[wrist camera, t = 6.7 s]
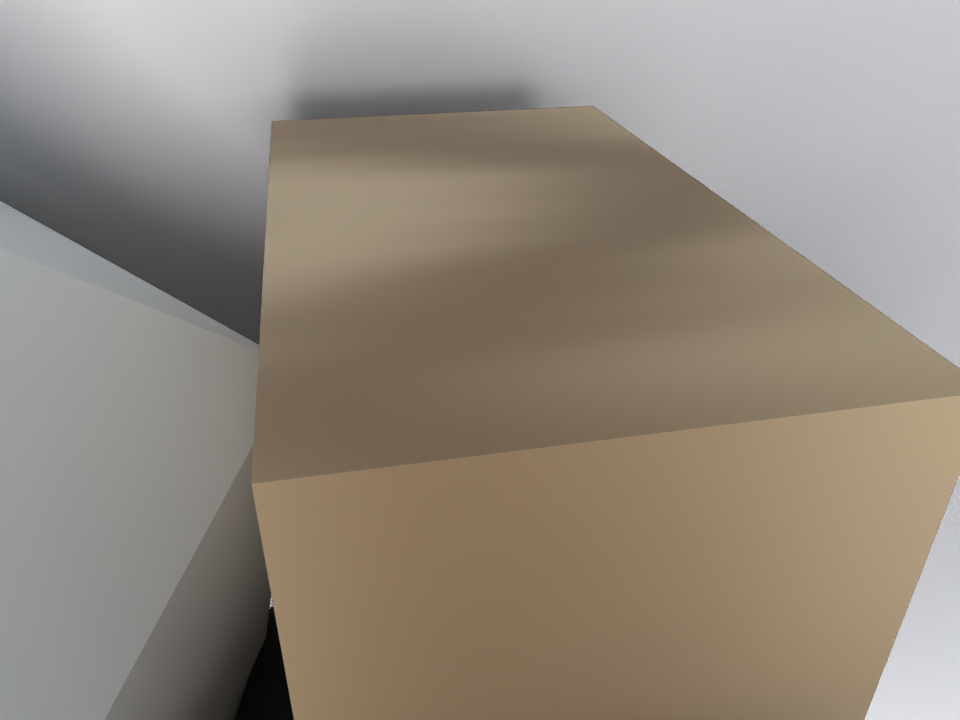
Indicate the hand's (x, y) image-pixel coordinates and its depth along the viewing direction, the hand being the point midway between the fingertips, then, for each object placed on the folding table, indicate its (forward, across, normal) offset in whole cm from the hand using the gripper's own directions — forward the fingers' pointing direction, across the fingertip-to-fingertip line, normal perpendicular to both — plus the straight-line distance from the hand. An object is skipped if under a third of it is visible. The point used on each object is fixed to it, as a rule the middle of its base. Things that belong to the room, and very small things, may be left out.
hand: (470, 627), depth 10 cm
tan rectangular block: (+2, 0, 0) cm, 2 cm away
